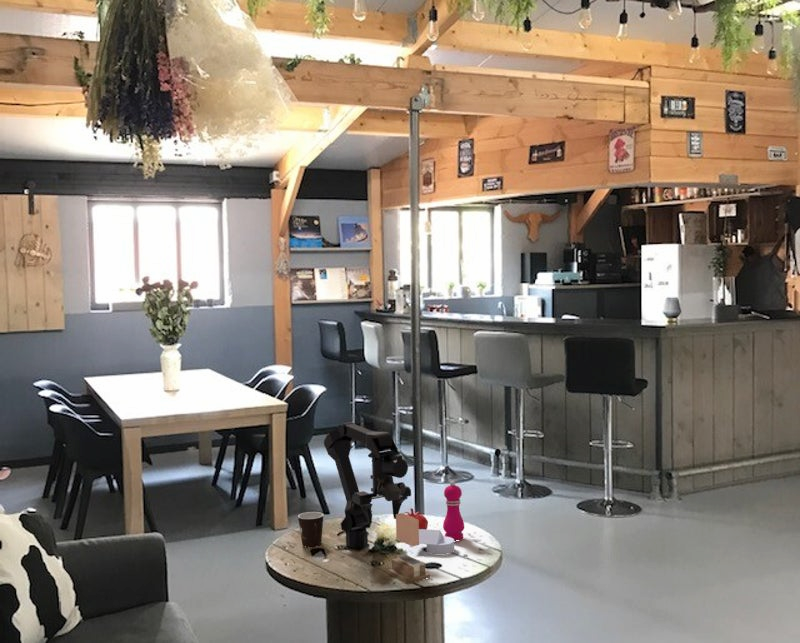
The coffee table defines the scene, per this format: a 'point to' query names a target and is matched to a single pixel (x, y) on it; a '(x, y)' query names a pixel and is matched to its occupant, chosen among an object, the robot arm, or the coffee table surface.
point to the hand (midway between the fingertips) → (382, 521)
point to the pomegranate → (422, 520)
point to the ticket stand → (408, 569)
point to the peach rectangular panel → (407, 529)
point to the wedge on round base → (436, 541)
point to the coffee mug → (311, 528)
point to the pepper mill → (453, 513)
